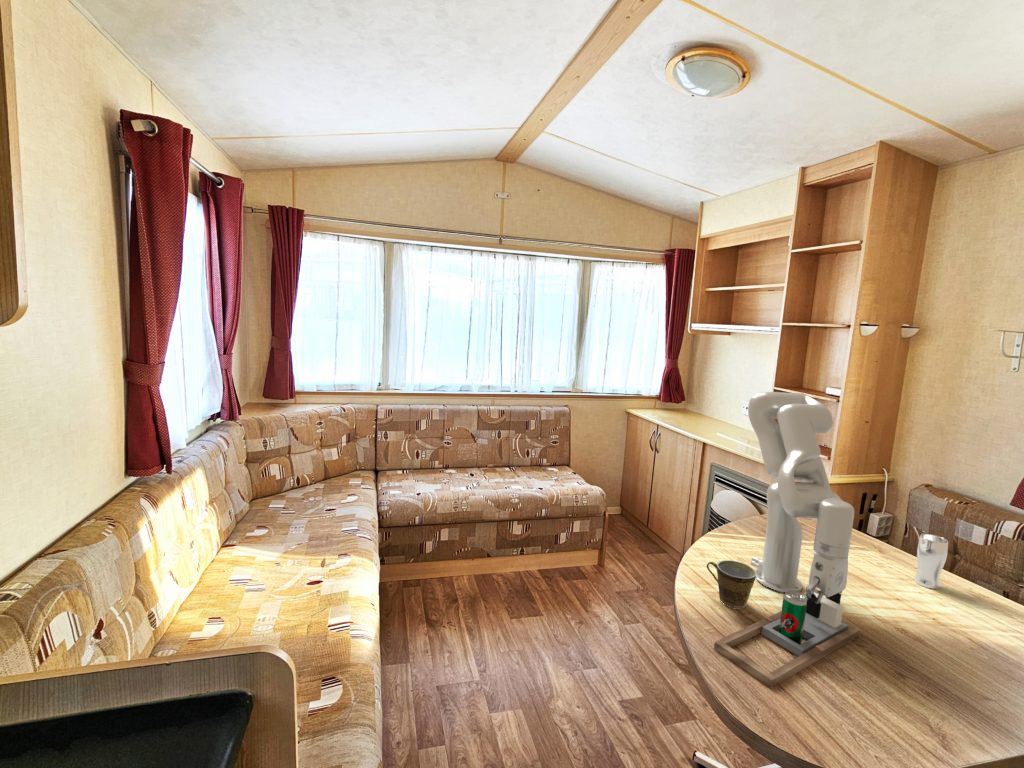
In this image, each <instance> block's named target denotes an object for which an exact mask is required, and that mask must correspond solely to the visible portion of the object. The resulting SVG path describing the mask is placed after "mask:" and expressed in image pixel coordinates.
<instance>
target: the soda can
mask: <svg viewBox="0 0 1024 768" xmlns="http://www.w3.org/2000/svg"><path fill="white" fill-rule="evenodd" d="M806 607H807V602H806V598H805V595H803V594H801V593H800V592H792V591H788V592H786V593H784V595H783V597H782V603H781V618H780V626H779V633H781V634H782V635H784V636H786V637H787V638H789V639H791V640H793V641H794V642H796V643H798V644H799V645H800V644H802V643H803V638H804V637H803V630H804V622H805V615H806Z"/></svg>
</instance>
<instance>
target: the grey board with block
mask: <svg viewBox="0 0 1024 768" xmlns="http://www.w3.org/2000/svg"><path fill="white" fill-rule="evenodd" d="M814 594H815V596H816V597H818V595H819V594H818V593H816V592H814ZM804 597H805V598H806V597H807V596H806V592H805V593H804ZM806 602H807V598H806ZM820 603H821V610H820V617H819V618H815V617H813V616H811V615H809V614H807V613H806V615H805V622H804V630H803V637H802V638H804V639H806V641H804V642H802V644H800V645H799V644H798V643H796V642H794V641H793V640H791V639H789V638H787V637H786V636H784V635H782V634H781V633H779V626H780V618H779V619H777V620H775V621H773V622H771V623H769V624H767V625H765V626H762V633H760V634H761V635H762V636H764V637H766V638H767V639H769V640H771V641H773V642H774V643H775V644H777V645H779V646H781V647H782V648H783V649H786V650H787V651H789V652H791V653H792V654H794V655H795V656H797V657H799V656H801V655H802V654H804V653H806V652H808V651H810V650H811V649H813V648H815V646H817V645H820V644H822V643H824V642H826V641H827V640H829V639H831V638H833V637H834V636H836V635H838V634H840V633H842V632H843V631H845V630H847V629H849V624H846V623H845V622H843V621H842V620H843V613H844V607H845V606H843V605H841V604H840V605H839V604H837V603H835V602H833V601H831V600H829V599H827V598H826V597H825V596H823V597H822V599H821V601H820Z"/></svg>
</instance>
